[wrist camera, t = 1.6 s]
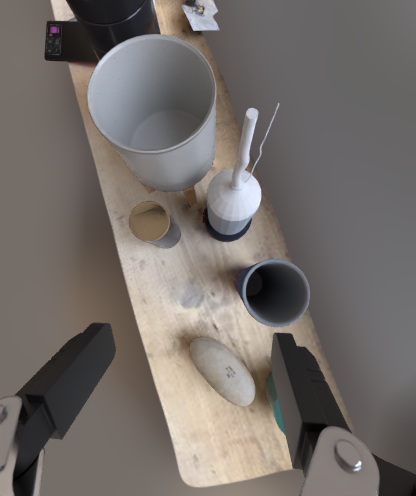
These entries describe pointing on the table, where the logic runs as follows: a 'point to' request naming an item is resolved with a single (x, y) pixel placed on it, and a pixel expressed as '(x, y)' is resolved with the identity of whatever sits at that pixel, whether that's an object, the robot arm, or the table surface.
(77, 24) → the smartphone
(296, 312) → the cup
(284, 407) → the robot arm
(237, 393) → the stone
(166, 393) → the table surface
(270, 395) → the squat tin
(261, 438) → the table surface
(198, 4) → the diorama
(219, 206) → the white tall piece
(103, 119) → the planter
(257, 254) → the table surface
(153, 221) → the tall tin
